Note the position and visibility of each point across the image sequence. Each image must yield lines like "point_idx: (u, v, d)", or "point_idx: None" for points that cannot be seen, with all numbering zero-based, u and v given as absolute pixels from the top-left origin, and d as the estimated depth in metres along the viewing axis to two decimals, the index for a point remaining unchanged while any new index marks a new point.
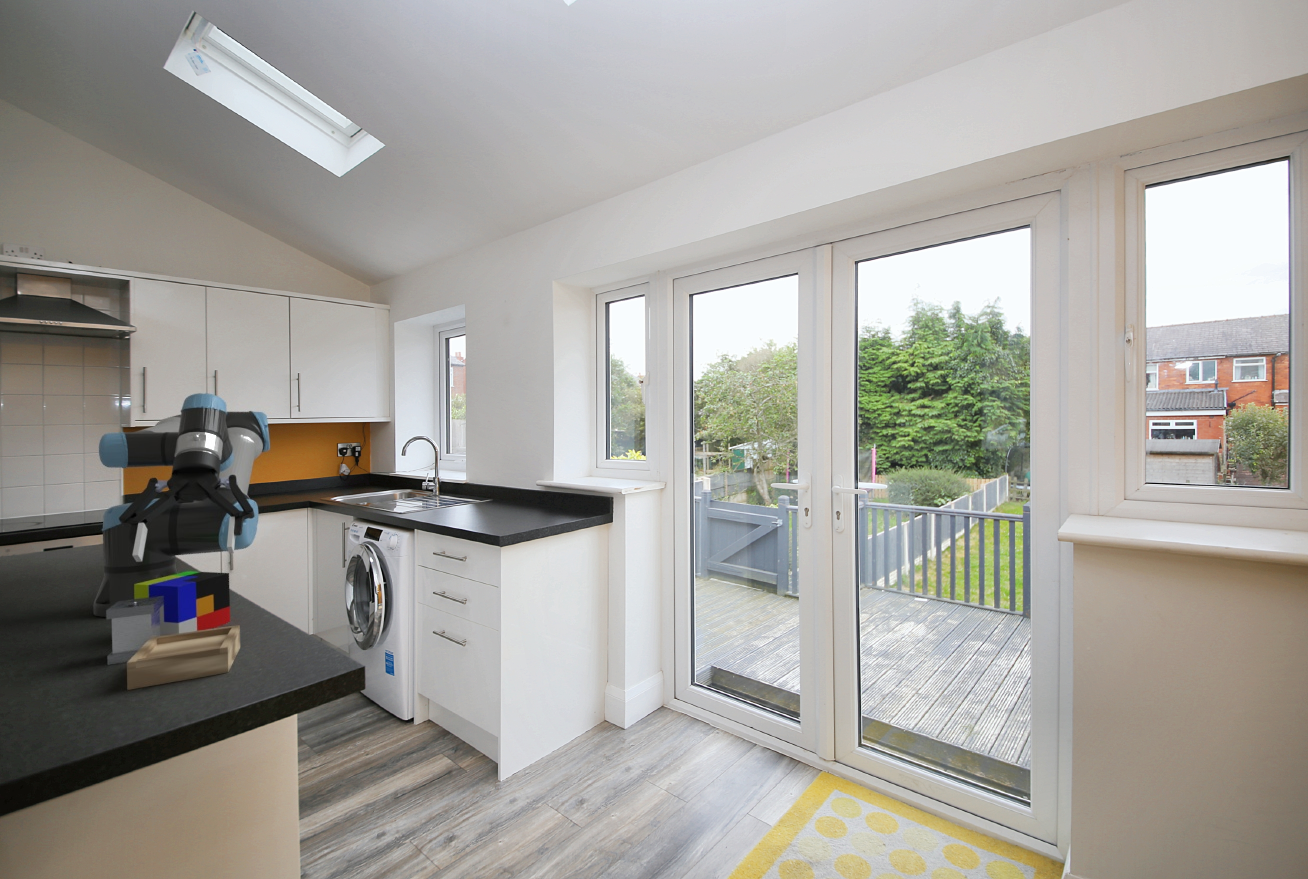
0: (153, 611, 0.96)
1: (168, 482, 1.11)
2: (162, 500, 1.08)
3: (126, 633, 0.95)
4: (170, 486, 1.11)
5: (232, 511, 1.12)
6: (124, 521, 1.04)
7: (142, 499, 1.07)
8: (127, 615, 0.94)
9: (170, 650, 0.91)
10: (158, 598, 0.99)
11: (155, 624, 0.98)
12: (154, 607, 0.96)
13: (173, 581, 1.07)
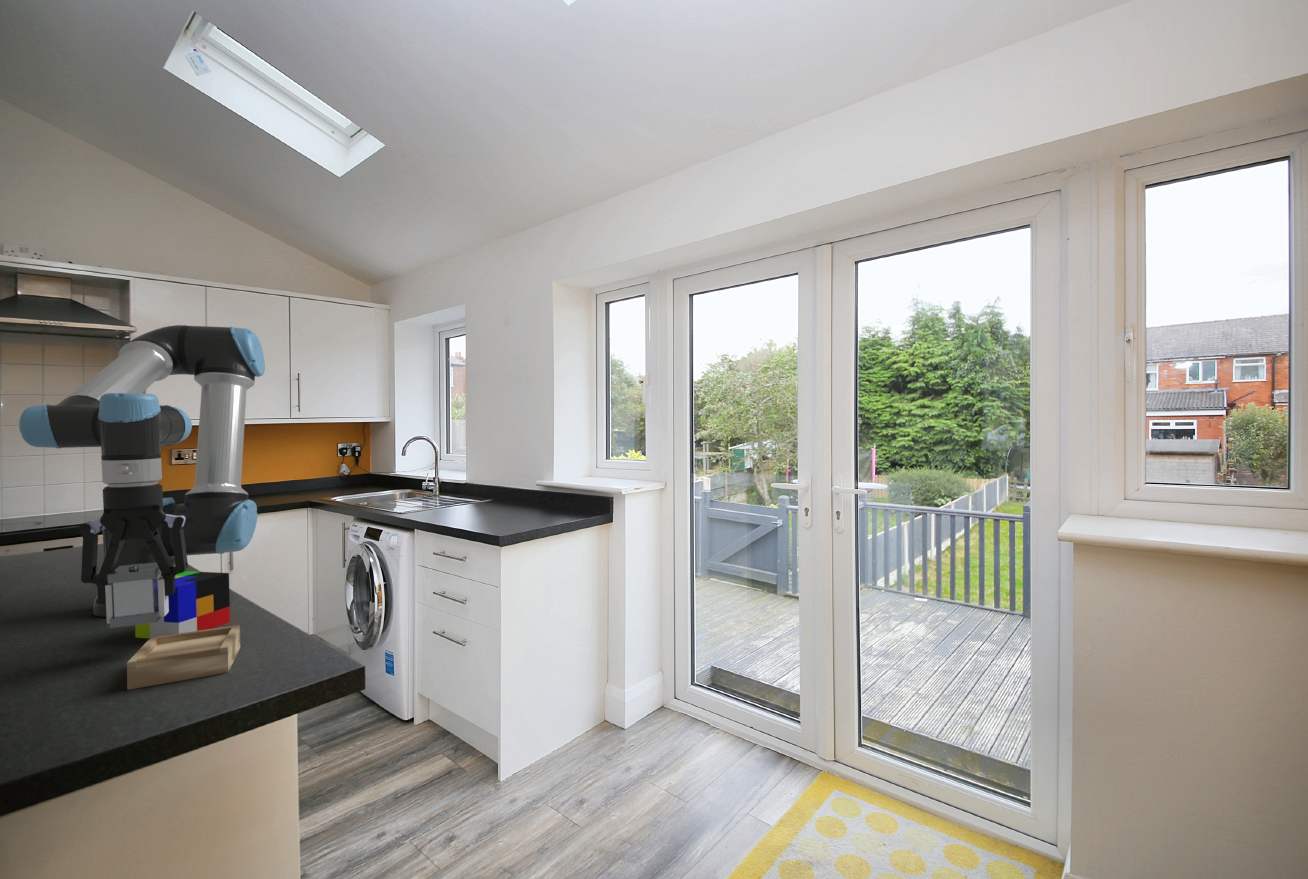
0: (154, 576, 0.97)
1: (103, 523, 0.94)
2: (112, 551, 0.95)
3: (128, 597, 0.95)
4: (108, 526, 0.95)
5: (162, 570, 0.98)
6: (88, 581, 0.94)
7: (90, 552, 0.94)
8: (128, 580, 0.95)
9: (170, 650, 0.91)
10: None
11: (156, 589, 0.99)
12: (155, 572, 0.97)
13: None
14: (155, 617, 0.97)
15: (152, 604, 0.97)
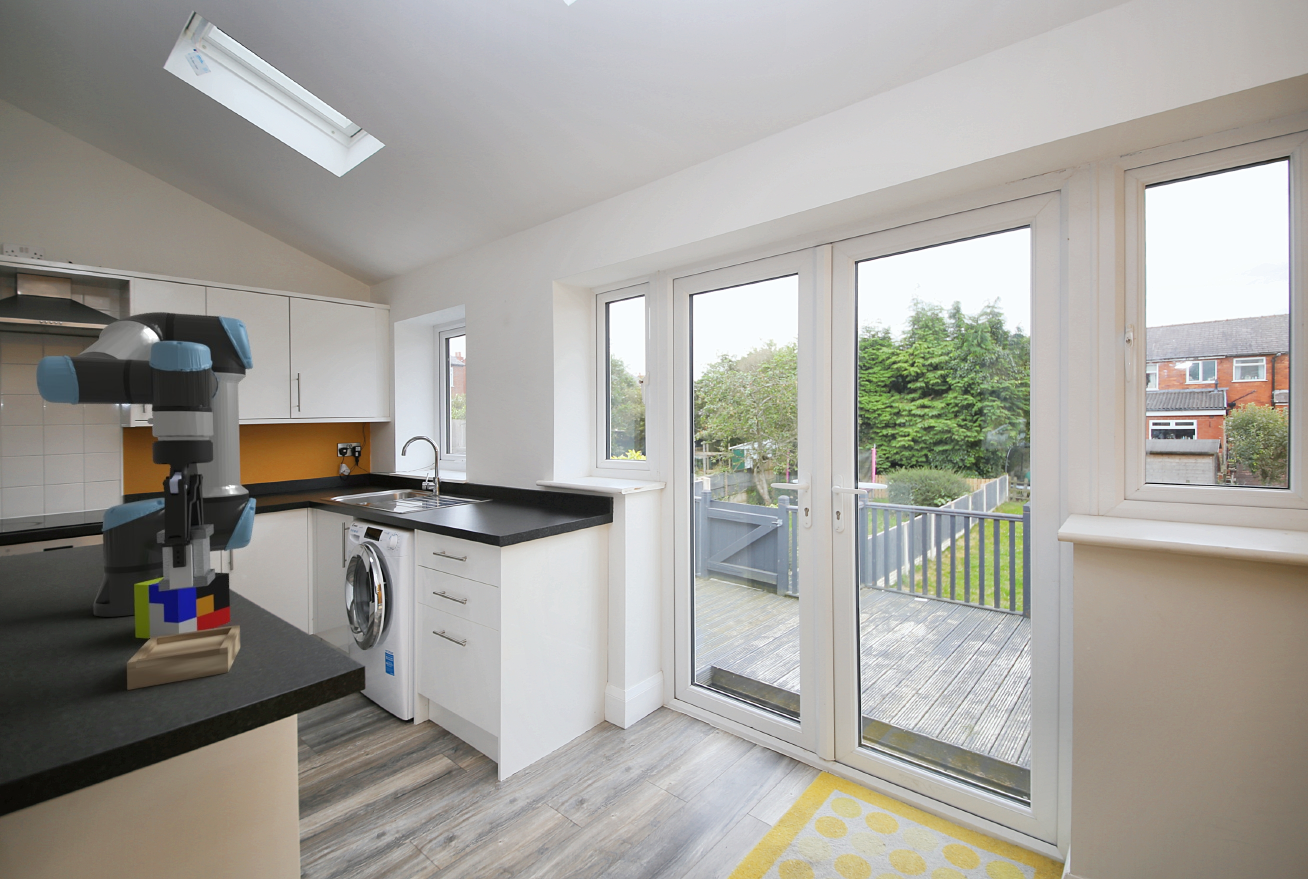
0: (157, 540, 0.88)
1: None
2: None
3: None
4: None
5: None
6: None
7: None
8: None
9: (170, 650, 0.91)
10: (192, 530, 0.90)
11: None
12: (160, 536, 0.88)
13: None
14: (159, 585, 0.88)
15: (163, 570, 0.88)
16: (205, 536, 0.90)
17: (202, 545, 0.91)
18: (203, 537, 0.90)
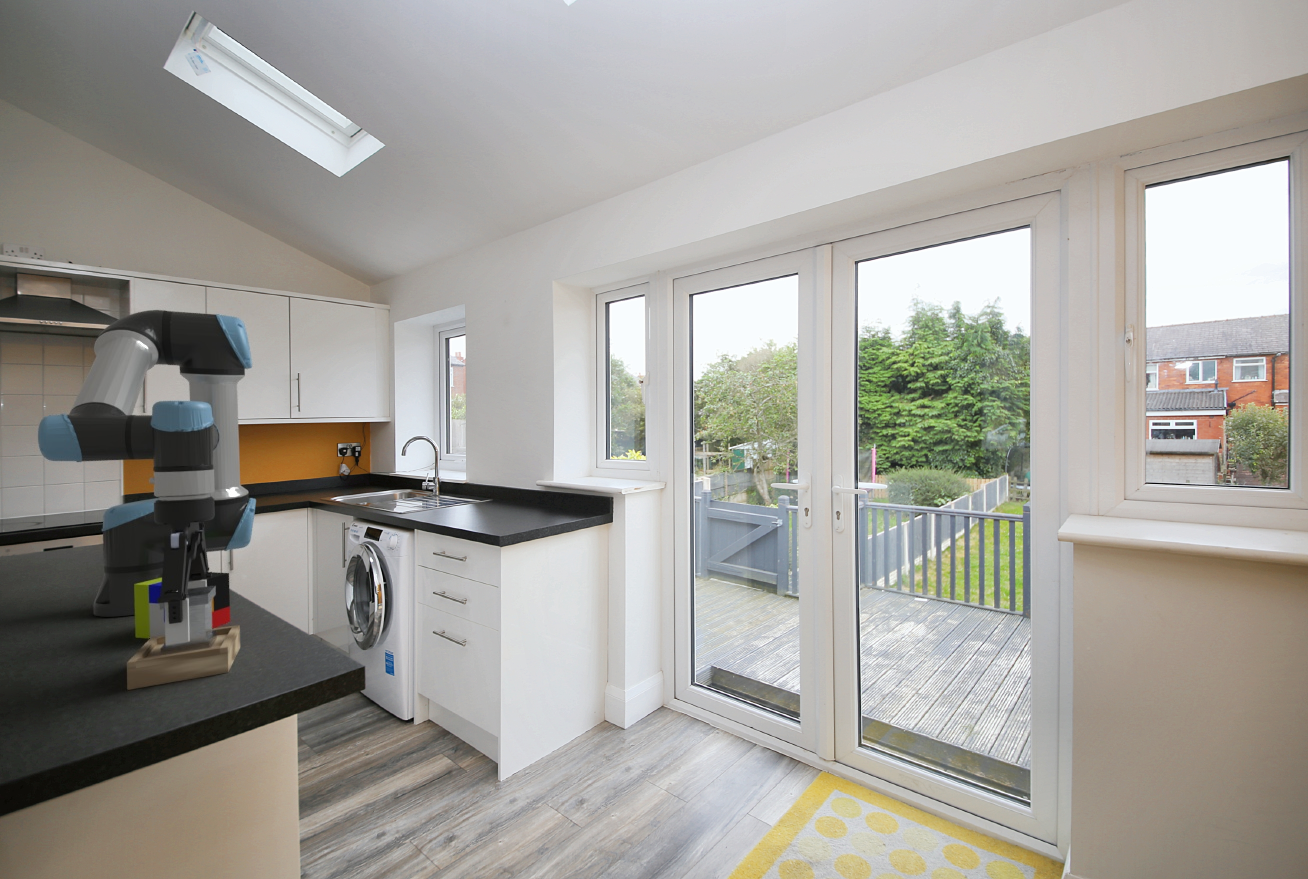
0: (160, 607, 0.88)
1: None
2: None
3: None
4: None
5: None
6: None
7: None
8: None
9: None
10: (194, 595, 0.90)
11: None
12: (162, 603, 0.88)
13: None
14: None
15: None
16: (207, 601, 0.91)
17: (204, 610, 0.91)
18: (205, 602, 0.91)
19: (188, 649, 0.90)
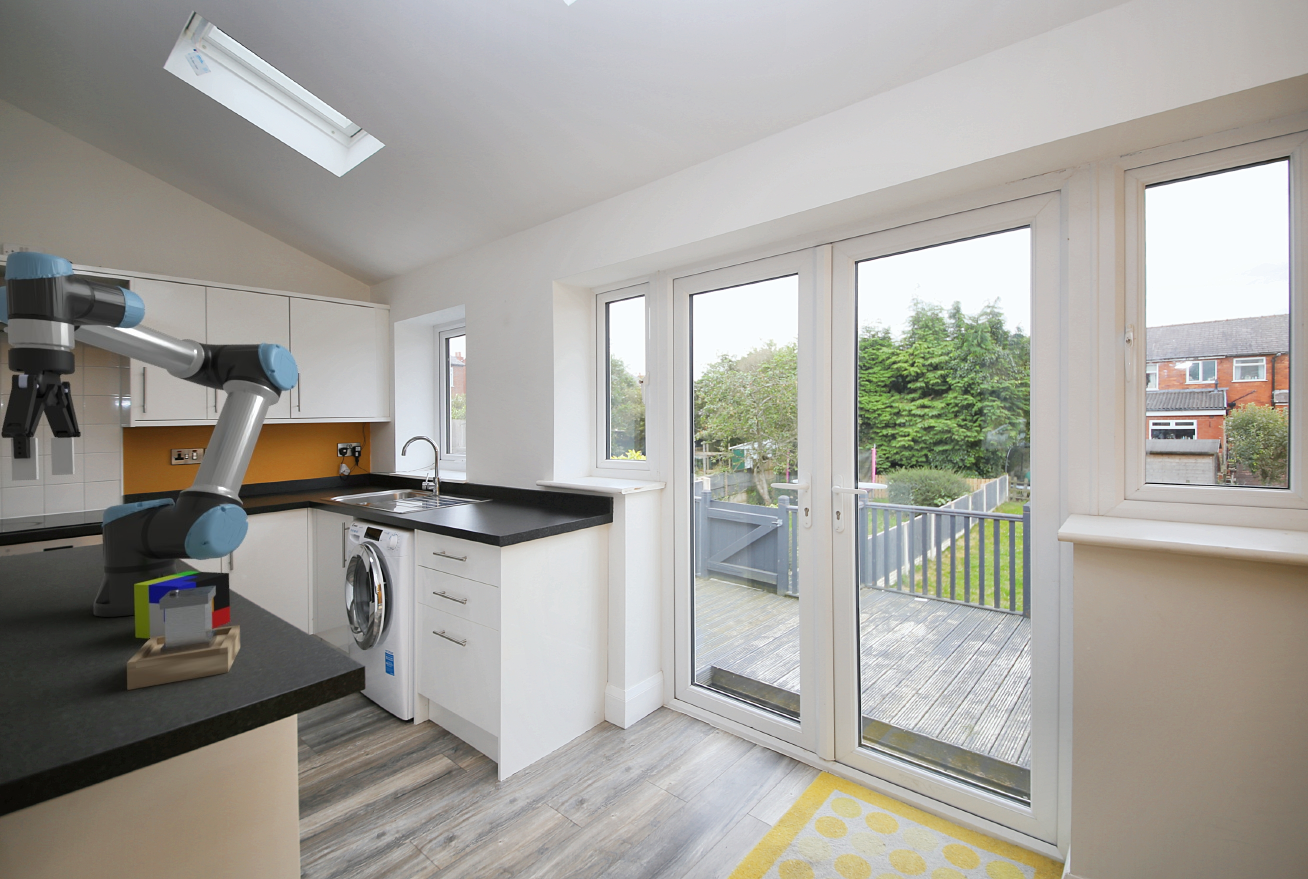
0: (160, 607, 0.88)
1: None
2: None
3: None
4: None
5: None
6: None
7: None
8: None
9: None
10: (194, 595, 0.90)
11: (183, 622, 0.90)
12: (162, 603, 0.88)
13: (173, 581, 1.07)
14: None
15: (165, 637, 0.89)
16: (207, 601, 0.91)
17: (204, 610, 0.91)
18: (205, 602, 0.91)
19: (188, 649, 0.90)
